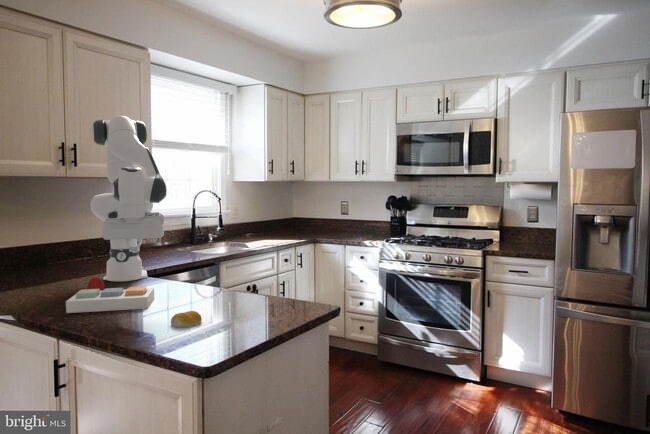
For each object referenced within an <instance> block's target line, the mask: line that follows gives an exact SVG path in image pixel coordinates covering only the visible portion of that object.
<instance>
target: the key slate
mask: <svg viewBox="0 0 650 434" xmlns="http://www.w3.org/2000/svg"><path fill="white" fill-rule="evenodd" d="M123 290H124V287H110V288H109V287H107V288H105V287H104V289H103V291H102V292H101V297H113V296H121V295H122V294H123Z"/></svg>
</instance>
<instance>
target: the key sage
mask: <svg viewBox="0 0 650 434" xmlns="http://www.w3.org/2000/svg"><path fill="white" fill-rule="evenodd" d="M75 294H76V298H94V297H97V296H98V295H99V294H100V289H88V288H86V289H80V290H78V292H76V293H75Z"/></svg>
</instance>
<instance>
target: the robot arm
mask: <svg viewBox="0 0 650 434" xmlns="http://www.w3.org/2000/svg"><path fill="white" fill-rule="evenodd" d="M90 129H91V130H90V134H91V137H92V139H93V142H94V143H95V144H96V145H99V146H106V153H105V154H106V158H105V159H106V177H107V179H108V181H109V182H110V183H111V184H112V185H113V192H106V193H105V192H104V193H101V194H95V195H94V196H93V197H92V199H91V201H90V210H91V212H92V213H93V215H94V216H95V217H97V218H98V219H100V220H101V221H102V222H103V224H102V229H101V230H102V231H101V232H102V233H101V234H102V238H103V240H105V241H106V240H107V241H108V240H109V243H110V249H109V259H108V260H106V275H105V276H103V278H102V281H103V280H104V281H110V282H131V281H136V280H141V279H146V278H147V279H148V272H147V270H145V267H144V266H143V265H142V264H143V263H142V258H140V253H139V252H140V246H141V245H142V243H143V239H146V240H148V239H162V238H163V237H164V236H165V232H164V225H163V224H164V223H165V216H164V215H163V214H162V213H160V212H159V211H158V212H153V208H154V204H159V203H160V202H162V201H163V200H164V199H165V198H166V196H167V191H168V189H167V185H166V183H165V180H164V178H163V176H162V175H161V173H160V171H159V168H158V166H157V163H156V161H155V159H154V157H153V154H152V153H151V150H150V149H149V148H148V147H146V146H145V145H144V144H145V143H146V142H147V139H148V136H149V131H148V128H147V126H146V124H145V122H143V121H140V120H132V119H130V118H129V117H127V116H125V115H116V116H114V117H112V118H111V119H105V120H104V119H98V120H95V121H94V122H93V123H92V126H91V128H90ZM134 164H136V165H139V166H141V167H142V168H143V169H144V170H143V169H142V168H141V167H137V166H135V165H134ZM144 172H145V174H146V176H145V175H144Z"/></svg>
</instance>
